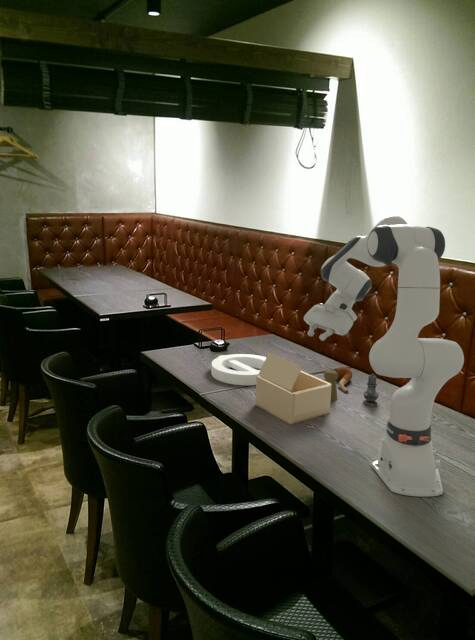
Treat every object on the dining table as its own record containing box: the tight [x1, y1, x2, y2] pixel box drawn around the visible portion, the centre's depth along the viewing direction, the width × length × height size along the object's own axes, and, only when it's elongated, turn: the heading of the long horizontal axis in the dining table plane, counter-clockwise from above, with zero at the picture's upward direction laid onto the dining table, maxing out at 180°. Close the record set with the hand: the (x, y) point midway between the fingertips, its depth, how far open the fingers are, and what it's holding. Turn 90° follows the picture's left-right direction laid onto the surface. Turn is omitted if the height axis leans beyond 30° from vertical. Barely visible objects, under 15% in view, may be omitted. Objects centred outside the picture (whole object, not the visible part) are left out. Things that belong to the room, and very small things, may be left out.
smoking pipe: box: [333, 366, 353, 394], centre depth 229 cm, size 7×18×6 cm, turn 1°
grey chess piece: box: [362, 372, 380, 406], centre depth 211 cm, size 6×6×12 cm
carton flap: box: [258, 352, 303, 391], centre depth 197 cm, size 1×18×9 cm, turn 35°
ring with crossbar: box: [210, 353, 267, 386], centre depth 240 cm, size 28×28×5 cm
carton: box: [255, 370, 332, 425], centre depth 203 cm, size 19×21×11 cm
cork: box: [323, 369, 338, 402], centre depth 214 cm, size 6×6×11 cm
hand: (315, 337), depth 203 cm, fingers open, 5 cm apart
